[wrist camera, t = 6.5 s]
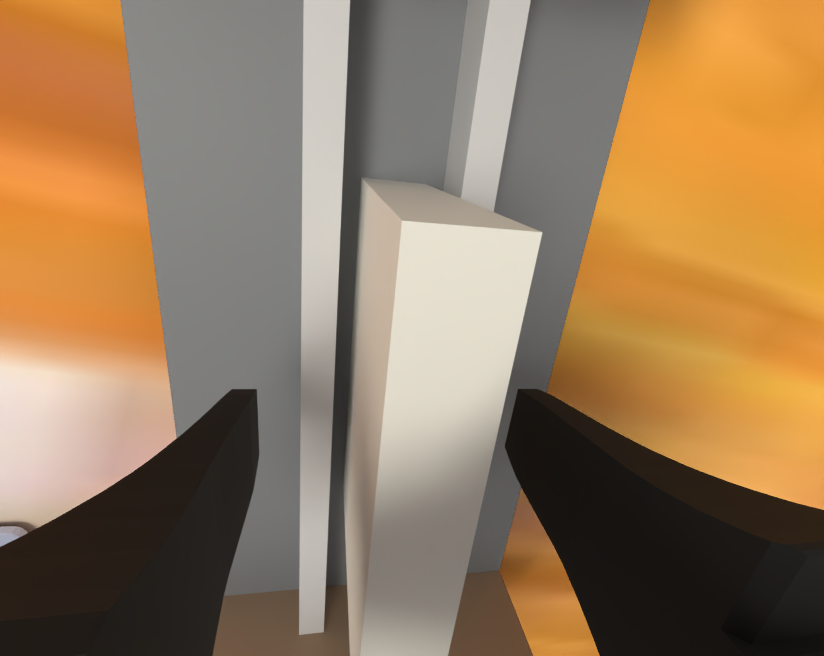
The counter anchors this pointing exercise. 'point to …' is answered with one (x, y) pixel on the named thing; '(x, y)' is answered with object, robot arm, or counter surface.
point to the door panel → (424, 404)
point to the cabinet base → (353, 239)
